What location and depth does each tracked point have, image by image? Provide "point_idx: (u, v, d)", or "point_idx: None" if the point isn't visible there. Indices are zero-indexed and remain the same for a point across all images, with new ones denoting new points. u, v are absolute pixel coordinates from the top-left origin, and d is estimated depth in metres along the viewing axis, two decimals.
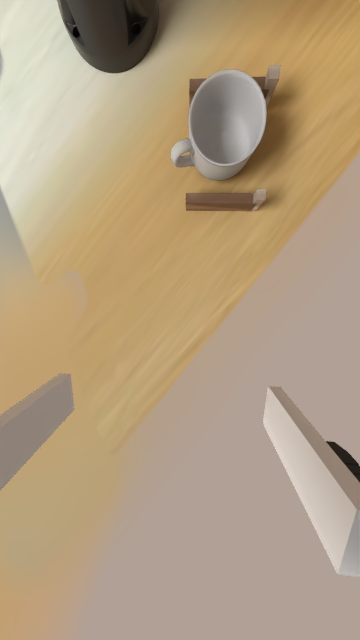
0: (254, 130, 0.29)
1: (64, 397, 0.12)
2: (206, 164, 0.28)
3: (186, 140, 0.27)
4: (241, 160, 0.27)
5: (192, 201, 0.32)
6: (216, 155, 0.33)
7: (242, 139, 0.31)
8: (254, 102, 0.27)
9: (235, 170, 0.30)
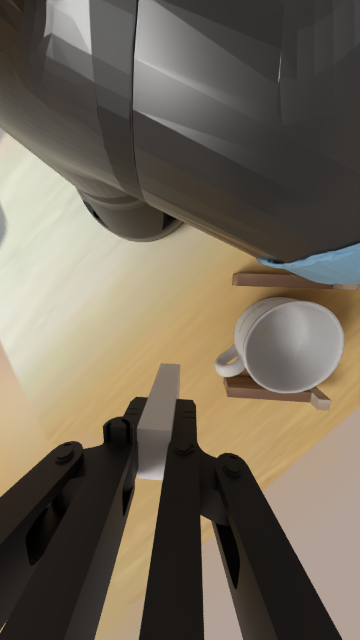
0: (319, 335, 0.23)
1: None
2: None
3: (238, 365, 0.21)
4: (307, 389, 0.22)
5: (235, 396, 0.26)
6: (264, 336, 0.27)
7: (298, 324, 0.26)
8: (325, 321, 0.21)
9: None
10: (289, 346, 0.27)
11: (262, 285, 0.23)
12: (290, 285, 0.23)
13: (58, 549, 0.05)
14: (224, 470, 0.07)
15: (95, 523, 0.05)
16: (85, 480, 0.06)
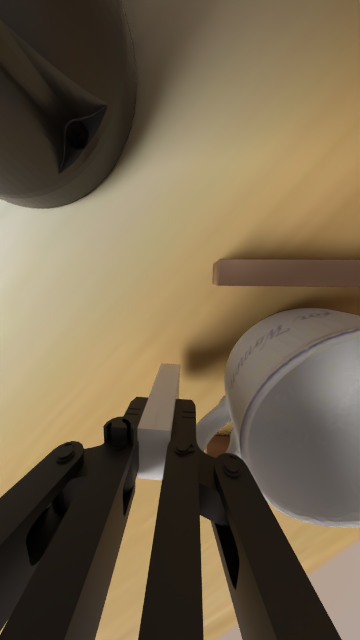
0: None
1: None
2: None
3: None
4: None
5: None
6: None
7: (345, 355, 0.14)
8: None
9: None
10: (327, 394, 0.15)
11: (268, 283, 0.11)
12: (327, 283, 0.11)
13: (59, 549, 0.05)
14: (223, 470, 0.07)
15: (95, 523, 0.05)
16: (85, 480, 0.06)
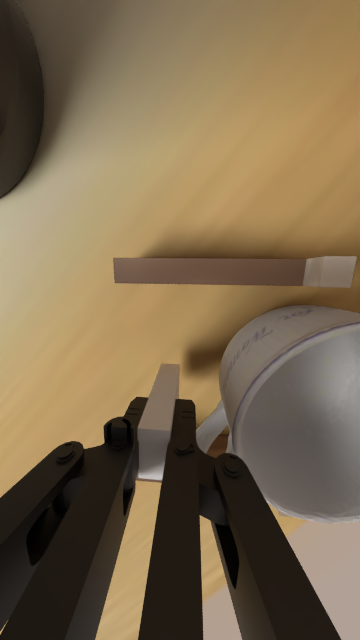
0: None
1: None
2: None
3: None
4: None
5: (140, 478, 0.15)
6: (275, 374, 0.15)
7: (338, 348, 0.14)
8: None
9: None
10: (325, 387, 0.15)
11: (161, 281, 0.11)
12: (215, 281, 0.11)
13: (59, 549, 0.05)
14: (223, 470, 0.07)
15: (96, 523, 0.05)
16: (85, 480, 0.06)
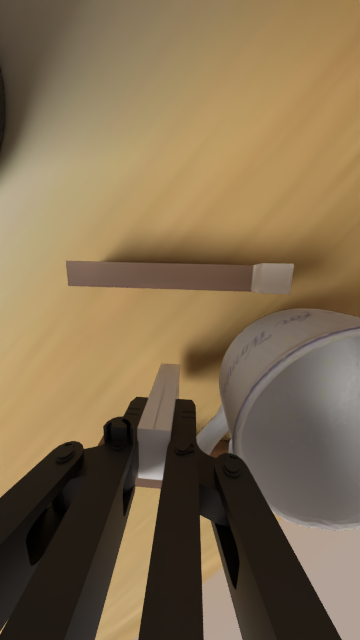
0: None
1: None
2: None
3: None
4: None
5: None
6: (276, 377, 0.15)
7: (338, 350, 0.14)
8: None
9: None
10: (326, 390, 0.14)
11: (113, 285, 0.12)
12: (166, 285, 0.11)
13: (59, 549, 0.05)
14: (223, 470, 0.07)
15: (95, 523, 0.05)
16: (85, 480, 0.06)
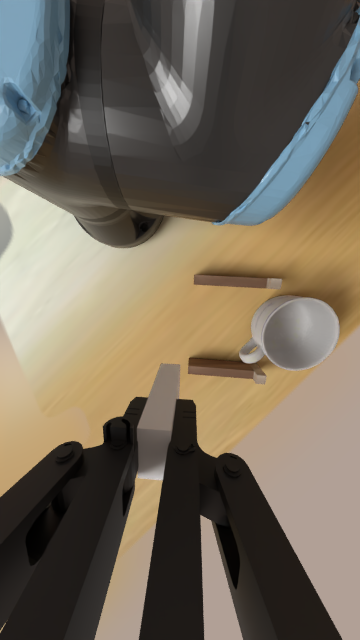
0: (319, 322, 0.29)
1: None
2: None
3: (259, 353, 0.27)
4: (315, 364, 0.27)
5: (194, 373, 0.33)
6: (275, 327, 0.33)
7: (302, 314, 0.32)
8: (322, 310, 0.27)
9: None
10: (297, 333, 0.33)
11: (212, 284, 0.30)
12: (233, 285, 0.29)
13: (58, 549, 0.05)
14: (224, 470, 0.07)
15: (95, 523, 0.05)
16: (84, 480, 0.06)
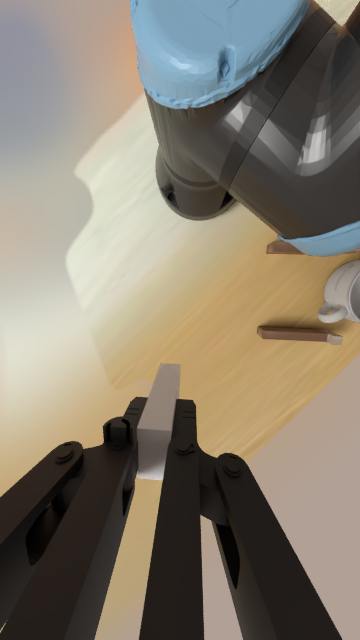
0: None
1: None
2: None
3: (344, 311, 0.29)
4: None
5: (269, 338, 0.35)
6: None
7: None
8: None
9: None
10: None
11: (292, 250, 0.31)
12: None
13: (58, 549, 0.05)
14: (224, 470, 0.07)
15: (95, 523, 0.05)
16: (84, 480, 0.06)
